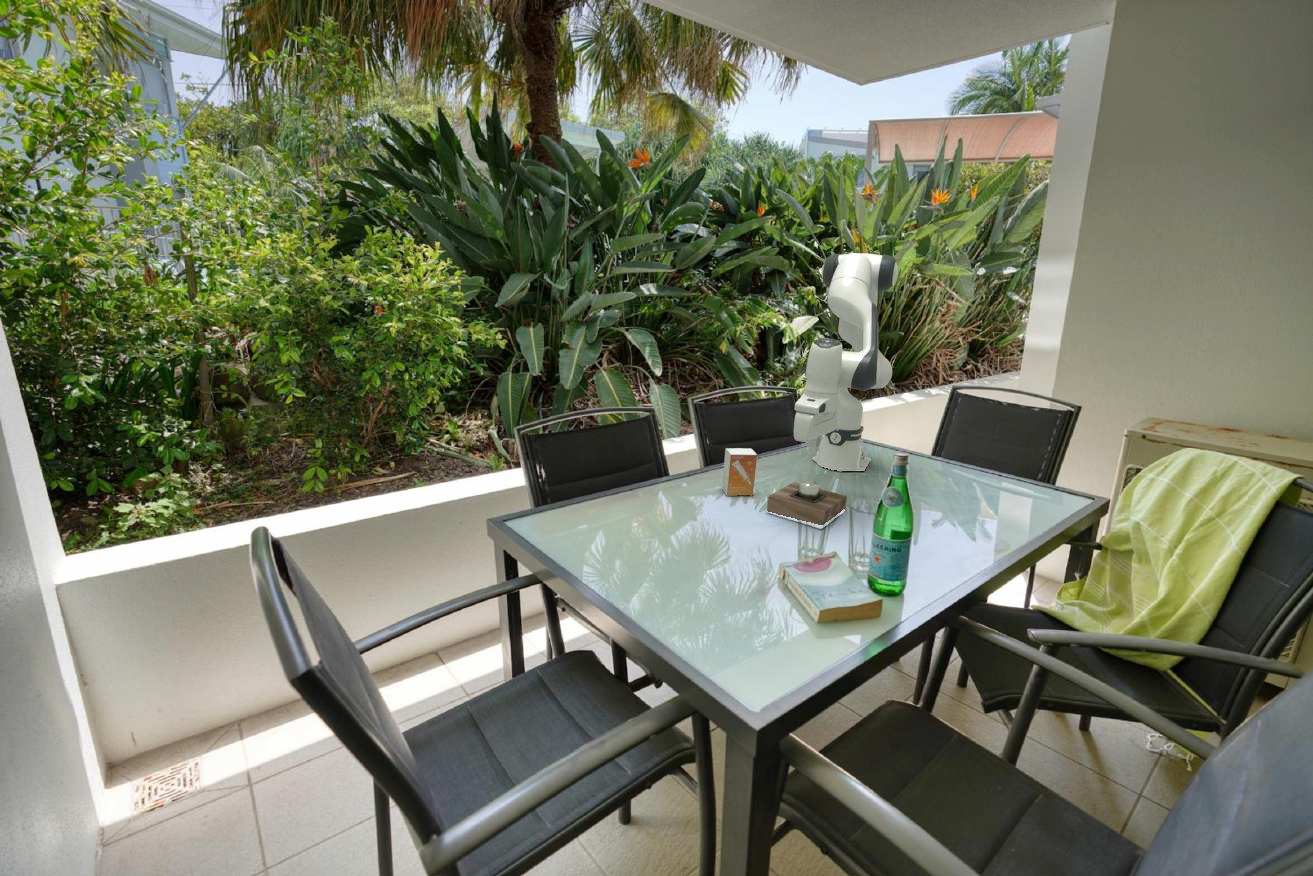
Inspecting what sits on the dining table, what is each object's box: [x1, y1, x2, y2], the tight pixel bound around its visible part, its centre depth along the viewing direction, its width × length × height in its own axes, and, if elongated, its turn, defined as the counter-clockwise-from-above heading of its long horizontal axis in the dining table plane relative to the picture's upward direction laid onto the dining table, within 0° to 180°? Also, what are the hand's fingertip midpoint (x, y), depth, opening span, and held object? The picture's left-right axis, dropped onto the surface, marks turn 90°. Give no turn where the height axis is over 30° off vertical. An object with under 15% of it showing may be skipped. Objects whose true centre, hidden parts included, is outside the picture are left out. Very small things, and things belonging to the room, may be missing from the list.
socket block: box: [766, 481, 848, 525], centre depth 170 cm, size 16×16×5 cm
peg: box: [799, 480, 820, 501], centre depth 169 cm, size 5×5×5 cm
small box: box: [721, 447, 758, 497], centre depth 181 cm, size 8×6×13 cm
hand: (813, 451), depth 165 cm, fingers closed
